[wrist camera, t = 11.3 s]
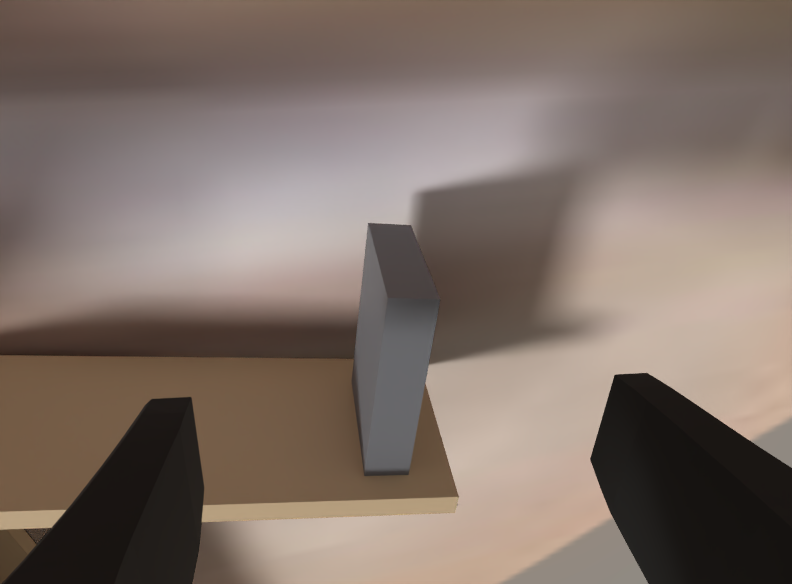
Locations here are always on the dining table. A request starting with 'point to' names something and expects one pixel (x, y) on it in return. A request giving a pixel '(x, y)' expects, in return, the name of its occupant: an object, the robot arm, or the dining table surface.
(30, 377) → the front flap
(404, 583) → the dining table surface
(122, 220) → the dining table surface
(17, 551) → the carton
